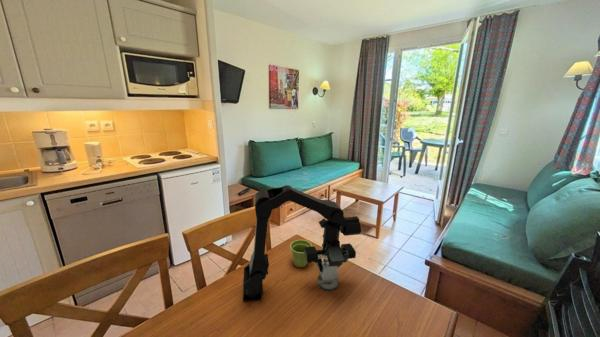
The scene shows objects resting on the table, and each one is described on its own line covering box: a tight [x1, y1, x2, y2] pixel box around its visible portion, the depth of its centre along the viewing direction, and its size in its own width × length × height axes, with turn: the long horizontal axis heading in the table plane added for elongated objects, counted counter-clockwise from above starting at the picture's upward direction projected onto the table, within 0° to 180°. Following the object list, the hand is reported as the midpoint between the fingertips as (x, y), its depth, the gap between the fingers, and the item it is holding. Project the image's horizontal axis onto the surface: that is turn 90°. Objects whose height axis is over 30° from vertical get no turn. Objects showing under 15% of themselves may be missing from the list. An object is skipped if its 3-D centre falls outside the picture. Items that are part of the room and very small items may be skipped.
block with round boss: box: [318, 256, 340, 280], centre depth 91 cm, size 6×6×7 cm
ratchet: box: [316, 263, 339, 293], centre depth 97 cm, size 16×8×5 cm, turn 10°
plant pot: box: [289, 239, 313, 268], centre depth 103 cm, size 9×9×9 cm
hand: (328, 271), depth 92 cm, fingers closed on block with round boss, 6 cm apart
